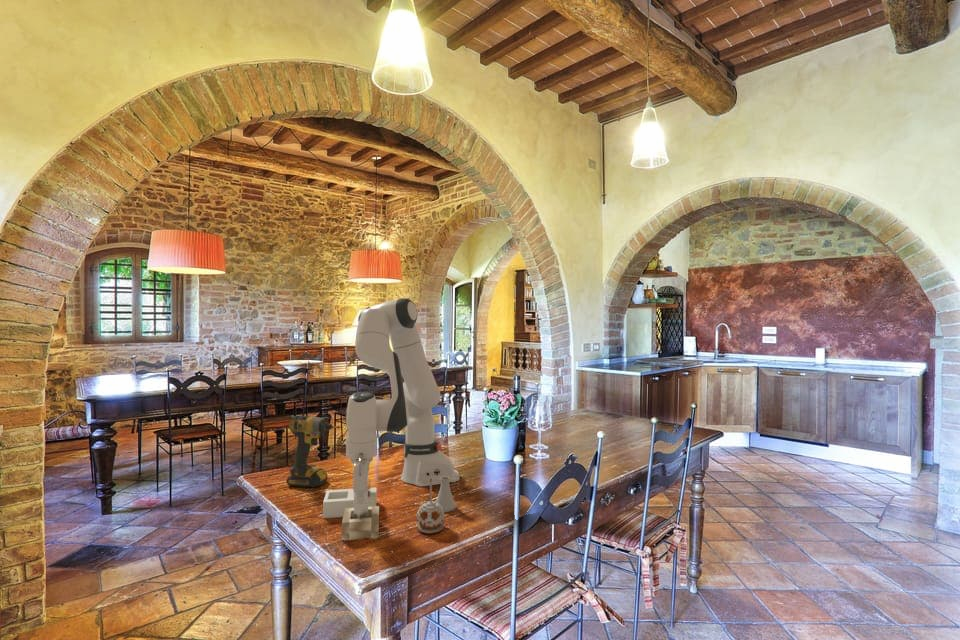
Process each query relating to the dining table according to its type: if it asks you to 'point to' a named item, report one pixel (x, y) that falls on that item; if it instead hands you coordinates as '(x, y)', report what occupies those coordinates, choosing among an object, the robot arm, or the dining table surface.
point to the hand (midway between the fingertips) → (361, 496)
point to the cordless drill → (307, 450)
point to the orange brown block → (369, 485)
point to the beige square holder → (360, 524)
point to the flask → (445, 496)
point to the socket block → (343, 501)
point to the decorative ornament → (430, 515)
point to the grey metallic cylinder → (361, 507)
